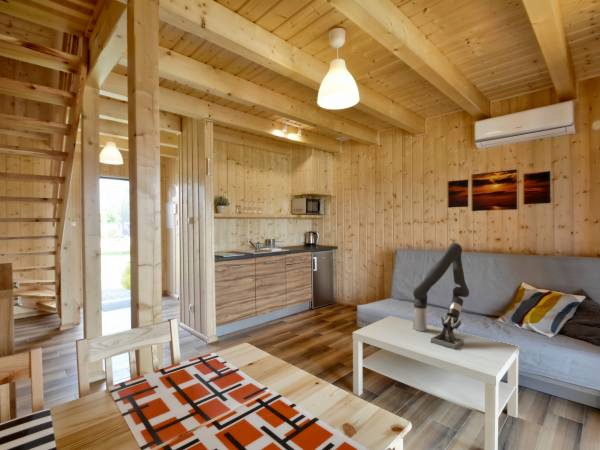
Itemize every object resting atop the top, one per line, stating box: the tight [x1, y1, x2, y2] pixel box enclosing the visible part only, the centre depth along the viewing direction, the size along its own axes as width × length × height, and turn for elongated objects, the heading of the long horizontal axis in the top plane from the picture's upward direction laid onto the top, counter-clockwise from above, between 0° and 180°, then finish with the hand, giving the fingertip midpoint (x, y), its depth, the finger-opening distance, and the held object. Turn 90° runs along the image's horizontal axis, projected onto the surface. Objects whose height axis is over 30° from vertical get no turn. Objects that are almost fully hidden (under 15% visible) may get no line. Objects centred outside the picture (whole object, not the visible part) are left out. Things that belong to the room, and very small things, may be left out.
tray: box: [430, 333, 464, 350], centre depth 213 cm, size 16×14×3 cm
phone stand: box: [439, 321, 457, 343], centre depth 213 cm, size 9×6×12 cm, turn 45°
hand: (447, 331), depth 213 cm, fingers closed on phone stand, 3 cm apart
